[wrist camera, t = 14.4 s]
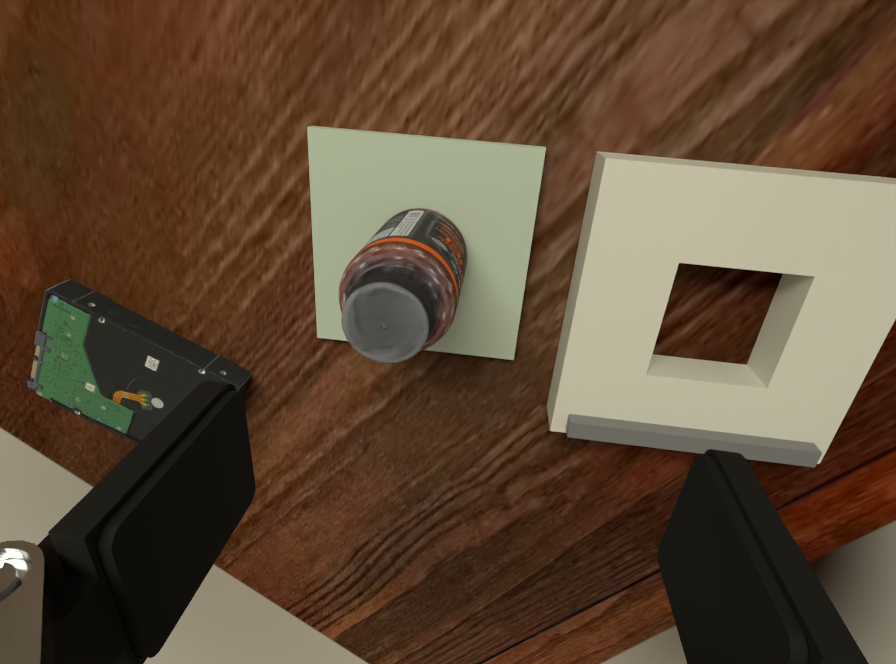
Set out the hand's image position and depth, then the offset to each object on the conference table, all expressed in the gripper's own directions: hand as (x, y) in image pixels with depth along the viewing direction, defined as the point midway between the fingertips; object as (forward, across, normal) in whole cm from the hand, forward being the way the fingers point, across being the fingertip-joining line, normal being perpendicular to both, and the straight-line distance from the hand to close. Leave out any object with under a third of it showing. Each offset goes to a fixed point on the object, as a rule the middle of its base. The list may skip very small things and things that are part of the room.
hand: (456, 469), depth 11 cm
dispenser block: (+24, -14, +5) cm, 28 cm away
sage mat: (+23, +4, +3) cm, 24 cm away
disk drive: (+24, +26, +16) cm, 38 cm away
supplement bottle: (+23, +4, +3) cm, 23 cm away
